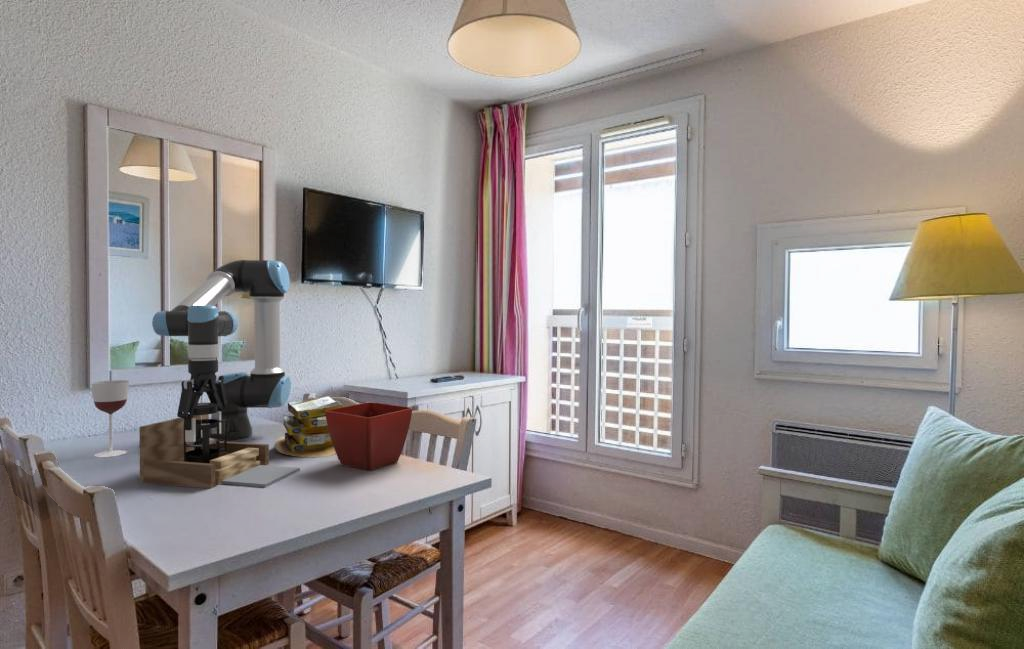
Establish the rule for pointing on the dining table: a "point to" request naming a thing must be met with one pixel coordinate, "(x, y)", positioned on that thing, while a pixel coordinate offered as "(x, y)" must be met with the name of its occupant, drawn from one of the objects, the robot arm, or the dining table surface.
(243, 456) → the offcut stack
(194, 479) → the wooden box
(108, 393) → the wineglass
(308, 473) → the dining table surface
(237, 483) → the slate mat
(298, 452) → the stacked boxes on plate
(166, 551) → the dining table surface
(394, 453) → the plant pot
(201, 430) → the french press
